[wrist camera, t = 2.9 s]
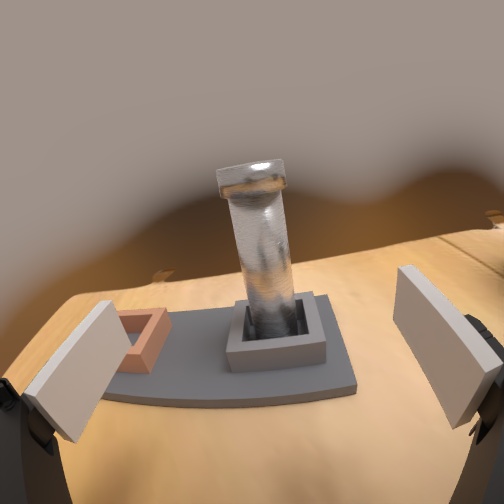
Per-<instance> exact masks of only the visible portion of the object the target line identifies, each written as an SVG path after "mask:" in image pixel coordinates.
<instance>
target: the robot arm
mask: <svg viewBox="0 0 504 504" xmlns="http://www.w3.org/2000/svg"><path fill="white" fill-rule="evenodd" d="M393 321H394V322H395V324H396V325H397V327H398V329H399V330H400V332H401V334H402V335H403V337H404V339H405V340H406V342H407V344H408V345H409V347H410V349H411V351H412V352H413V354H414V356H415V358H416V359H417V361H418V363H419V365H420V366H421V368H422V370H423V372H424V374H425V375H426V377H427V379H428V381H429V383H430V385H431V387H432V389H433V391H434V392H435V394H436V396H437V398H438V400H439V402H440V404H441V406H442V408H443V410H444V412H445V414H446V416H447V419H448V421H449V423H450V425H451V427H452V429H455V428H457V427H459V426H461V425H463V424H465V423H467V422H470V421H471V419H472V418H473V416H474V415H475V413H476V411H478V413H479V415H480V418H479V420H478V421H477V423H476V424H475V425H474V427H473V428H472V430H471V431H470V433H469V436H471V435H472V434H473V432H474V431H475V434H474V437H473V441H472V444H471V447H470V451H469V454H468V457H467V460H466V463H465V466H464V468H463V471H462V474H461V476H460V479H459V481H458V484H457V486H456V488H455V491H454V493H453V495H452V498H451V500H450V502H449V504H504V347H503V346H502V345H501V344H500V343H499V342H498V340H497V339H496V338H495V337H493V335H492V334H491V332H490V331H489V330H488V331H487V328H486V327H485V326H484V325H483V324H482V323H481V321H480V320H478V319H476V318H475V317H473V316H471V315H469V314H468V315H465V316H463V315H462V314H461V313H460V311H459V310H458V309H457V308H456V307H455V306H454V305H453V304H452V303H451V302H450V301H449V300H448V299H447V298H446V297H445V296H444V295H443V294H442V293H441V292H440V291H439V290H438V289H437V287H436V286H435V285H433V284H432V283H431V282H430V281H429V280H428V279H427V278H426V277H425V276H424V275H423V274H422V273H421V272H420V271H419V270H418V269H417V268H416V267H415V266H414V265H407V266H401V267H398V274H397V286H396V297H395V306H394V314H393ZM131 345H132V344H131V342H130V340H129V338H128V336H127V334H126V332H125V329H124V327H123V325H122V323H121V320H120V318H119V316H118V313H117V311H116V308H115V306H114V304H113V301H112V300H107V301H100V302H99V303H98V304H97V305H96V306H95V307H94V308H93V310H92V311H91V312H90V313H89V314H88V315H87V316H86V317H85V318H84V319H83V321H82V322H81V323H80V324H79V325H78V326H77V327H76V329H75V330H74V331H73V332H72V333H71V334H70V335H69V337H68V338H67V339H66V340H65V341H64V342H63V344H62V345H61V346H60V347H59V348H58V349H57V351H56V352H55V353H54V354H53V356H52V357H51V358H50V359H49V360H48V361H47V363H46V364H45V365H44V366H43V368H42V369H41V370H40V371H39V373H38V374H37V375H36V376H35V378H34V379H33V380H32V382H31V383H30V384H29V385H28V387H27V388H26V389H25V391H24V392H23V394H22V395H21V396H19V394H18V393H17V392H16V390H15V389H14V388H13V386H12V385H11V383H10V382H9V381H8V379H7V378H0V504H73V503H72V500H71V497H70V494H69V490H68V487H67V483H66V479H65V475H64V471H63V466H62V462H61V457H60V452H59V447H58V441H57V439H56V437H55V436H54V435H53V434H54V432H55V430H56V431H57V433H58V434H59V435H60V436H61V437H62V438H63V439H65V440H67V441H70V442H73V443H75V444H77V442H78V440H79V438H80V436H81V434H82V432H83V430H84V428H85V427H86V425H87V423H88V421H89V419H90V417H91V415H92V413H93V412H94V410H95V408H96V406H97V404H98V402H99V401H100V399H101V397H102V395H103V393H104V392H105V390H106V388H107V386H108V384H109V383H110V381H111V379H112V377H113V376H114V374H115V372H116V371H117V369H118V367H119V365H120V364H121V362H122V360H123V359H124V357H125V355H126V354H127V352H128V350H129V349H130V347H131Z"/></svg>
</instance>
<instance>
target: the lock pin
mask: <svg viewBox="0 0 504 504" xmlns="http://www.w3.org/2000/svg"><path fill="white" fill-rule="evenodd" d="M216 176H217V181H218V186H219V191H220V196H221V198H226V199H228V202H229V207H230V212H231V218H232V223H233V228H234V233H235V238H236V243H237V248H238V253H239V258H240V263H241V268H242V273H243V278H244V283H245V288H246V293H247V298H248V302H249V307H250V312H251V317H252V322H253V326H254V331H255V336H256V340H265V339H274V338H283V337H291V336H298V335H299V333H298V323H297V314H296V304H295V295H294V286H293V278H292V269H291V261H290V253H289V245H288V238H287V230H286V223H285V216H284V209H283V202H282V195H281V189H284V188H286V187H287V183H286V176H285V170H284V163H283V160H282V159H275V160H266V161H258V162H252V163H246V164H241V165H235V166H231V167H226V168H222V169H218V170H216Z"/></svg>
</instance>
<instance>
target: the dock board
mask: <svg viewBox="0 0 504 504" xmlns="http://www.w3.org/2000/svg"><path fill="white" fill-rule="evenodd" d="M294 295H295V304H296V314H297V323H298V333H299V335H298V336H291V337H283V338H274V339H265V340H256V336H255V331H254V326H253V322H252V317H251V312H250V307H249V302H248V300H240V301H236V302H235V306H234V307H225V308H214V309H204V310H192V311H180V312H167V309H166V308H154V309H139V310H122V311H117V313H118V316H119V318H120V320H121V323H122V325H123V327H124V329H125V332H126V334H127V336H128V338H129V340H130V342H131V344H132V345H131V347H130V349H129V350H128V352H127V354H126V355H125V357H124V359H123V360H122V362H121V364H120V365H119V367H118V369H117V371H116V372H115V374H114V376H113V377H112V379H111V381H110V383H109V384H108V386H107V388H106V390H105V392H104V393H103V395H102V397H101V399H106V400H113V401H120V402H127V403H135V404H144V405H155V406H168V407H187V408H240V407H259V406H273V405H284V404H293V403H301V402H309V401H316V400H322V399H329V398H335V397H340V396H345V395H351V394H355V393H356V390H357V382H356V378H355V375H354V372H353V369H352V366H351V362H350V359H349V356H348V353H347V350H346V347H345V344H344V341H343V338H342V335H341V332H340V329H339V326H338V324H337V321H336V318H335V315H334V312H333V309H332V307H331V304H330V301H329V298H328V296H327V295H320V296H314V294H313V291H310V292H303V293H296V294H294Z"/></svg>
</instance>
